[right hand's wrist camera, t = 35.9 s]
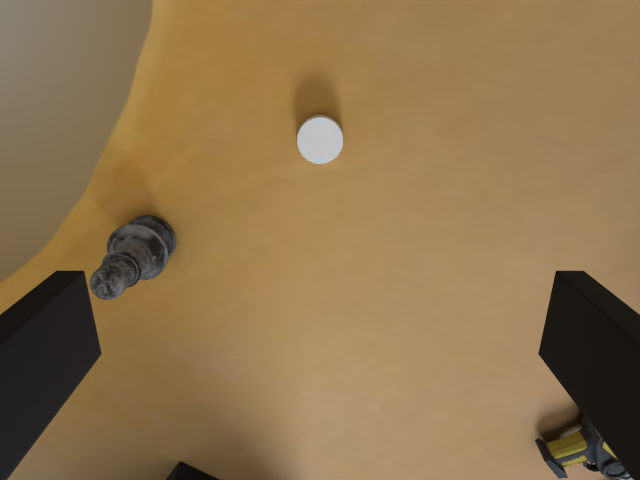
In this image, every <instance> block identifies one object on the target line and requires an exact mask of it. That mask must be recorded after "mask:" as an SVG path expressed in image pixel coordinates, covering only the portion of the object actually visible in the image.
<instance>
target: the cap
mask: <svg viewBox="0 0 640 480" xmlns="http://www.w3.org/2000/svg"><path fill="white" fill-rule="evenodd" d="M343 140H344V139H343V135H342V130H341V129H340V127H339V125H338V123H337V121H335V120H334V119H332V118H331V117H330V116H326V115H322V114H321V115H315V116H314V115H313V116H312V117H310V118H308V119H306V120H305V121H304V122H303V124H302V125H301V126H300V129H299V132H298V134H297V145H298V148H299V151H300V153H301V154H302V155H303V156H304V157H305V158H306V159H307V160H309V161H310V162H313V163H318V164H323V163H327V162H330V161H332V160H333V159H334V158H336V157H337V156H338V154H339V153H340V151H341V149H342V146H343Z"/></svg>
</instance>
